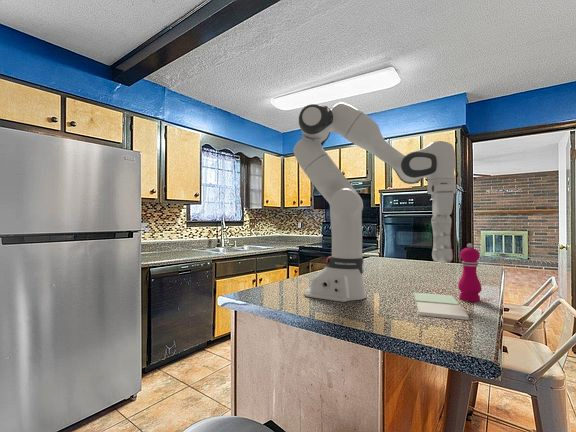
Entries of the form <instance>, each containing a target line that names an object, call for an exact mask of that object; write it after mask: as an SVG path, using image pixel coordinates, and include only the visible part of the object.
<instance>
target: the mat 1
mask: <svg viewBox="0 0 576 432" xmlns="http://www.w3.org/2000/svg"><path fill="white" fill-rule="evenodd" d="M413 297H414V303H416V302H425V303H436V304H448V305H459V306H460V304H459V302H458V301H457V300H456V298H455V296H454V295H451V294H450V295H449V294H438V293H425V292H413Z"/></svg>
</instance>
